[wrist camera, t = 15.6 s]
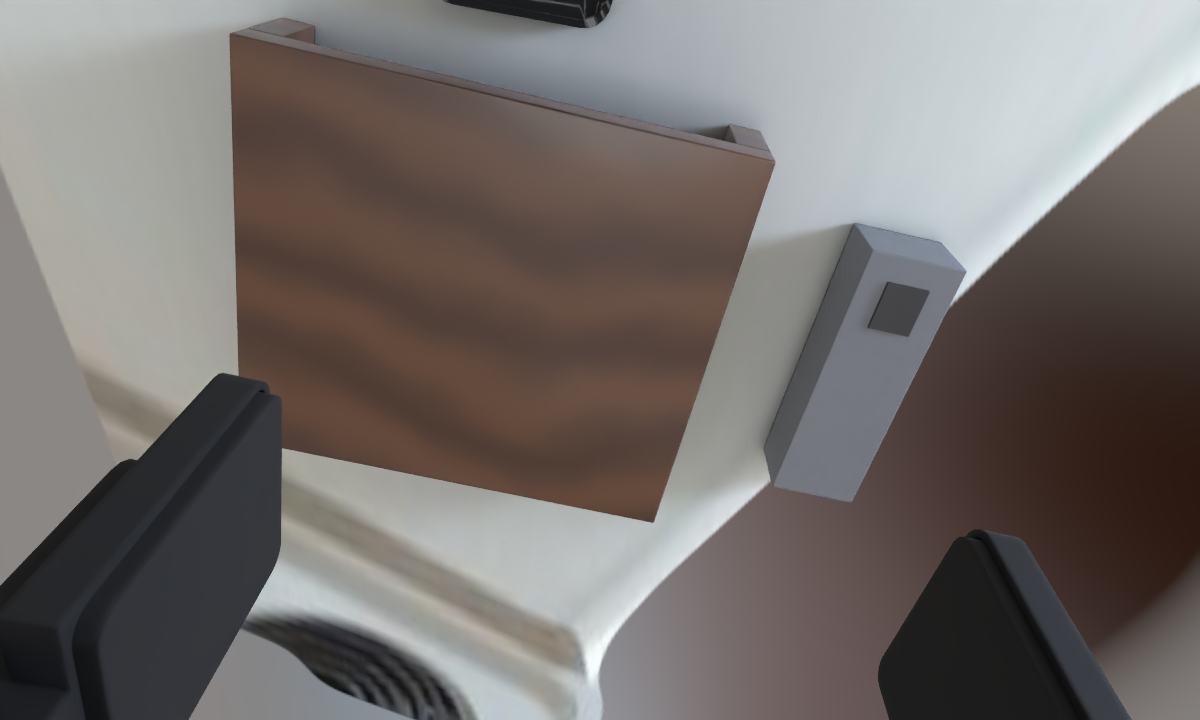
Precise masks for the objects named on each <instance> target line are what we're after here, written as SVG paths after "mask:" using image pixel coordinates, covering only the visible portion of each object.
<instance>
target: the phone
mask: <svg viewBox="0 0 1200 720" xmlns="http://www.w3.org/2000/svg"><path fill="white" fill-rule="evenodd" d="M443 1H445V2H448V3H450V4H454V5H460V6H465V7H471V8H476V9H481V10H487V11H492V12H497V13H503V14H508V15H514V16H519V17H524V18H530V19H535V20H541V21H546V22H551V23H557V24H562V25H567V26H573V27H578V28H590V27H593V26H596V25H598V24H599V23H600V22H601V21H603V20H604V19H605V17H606V16H607V14H608V13H609V10H610V7H611V4H612V1H613V0H443Z"/></svg>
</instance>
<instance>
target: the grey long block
mask: <svg viewBox="0 0 1200 720" xmlns="http://www.w3.org/2000/svg"><path fill="white" fill-rule="evenodd" d="M965 274H966V270H965V269H964V268H963V267H962V265H961V264H960V263H959V262H958V261H957V260H956V259H955V258H954V257H953V255H952V254H951V253H950V252H949V251H948V250H947V249H946V248H945V246H944V245H943V244H942V243H940V242H935V241H931V240H927V239H922V238H918V237H913V236H909V235H905V234H900V233H896V232H892V231H887V230H883V229H878V228H874V227H870V226H865V225H861V224H854V226H853V228H852V231H851V233H850V235H849V238H848V240H847V243H846V245H845V248H844V250H843V253H842V255H841V258H840V260H839V263H838V265H837V268H836V270H835V273H834V275H833V278H832V280H831V283H830V285H829V287H828V290H827V292H826V295H825V297H824V300H823V302H822V305H821V307H820V310H819V312H818V315H817V317H816V320H815V322H814V325H813V327H812V330H811V332H810V334H809V337H808V339H807V342H806V344H805V347H804V349H803V352H802V354H801V357H800V359H799V362H798V364H797V367H796V369H795V372H794V374H793V377H792V379H791V381H790V384H789V386H788V389H787V391H786V394H785V396H784V399H783V401H782V404H781V406H780V409H779V411H778V414H777V416H776V419H775V421H774V424H773V426H772V429H771V431H770V433H769V436H768V438H767V441H766V443H765V446H764V452H765V456H766V461H767V465H768V470H769V474H770V479H771V483H772V486H773V487H777V488H782V489H787V490H792V491H797V492H802V493H807V494H811V495H817V496H821V497H826V498H831V499H836V500H841V501H846V502H852V500H853V498H854V496H855V494H856V492H857V490H858V488H859V486H860V484H861V482H862V480H863V478H864V476H865V474H866V472H867V470H868V468H869V466H870V464H871V462H872V460H873V458H874V456H875V454H876V452H877V450H878V448H879V446H880V444H881V442H882V440H883V438H884V436H885V434H886V432H887V430H888V428H889V426H890V424H891V422H892V420H893V418H894V416H895V414H896V412H897V410H898V408H899V406H900V404H901V402H902V400H903V398H904V396H905V394H906V392H907V390H908V388H909V386H910V384H911V382H912V380H913V378H914V376H915V374H916V372H917V370H918V368H919V366H920V364H921V362H922V360H923V358H924V356H925V354H926V352H927V350H928V348H929V346H930V344H931V342H932V340H933V338H934V336H935V334H936V332H937V330H938V328H939V326H940V324H941V322H942V320H943V318H944V316H945V314H946V312H947V310H948V308H949V306H950V304H951V302H952V300H953V298H954V296H955V294H956V292H957V290H958V288H959V286H960V284H961V282H962V280H963V278H964V276H965Z"/></svg>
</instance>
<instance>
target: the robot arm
mask: <svg viewBox="0 0 1200 720" xmlns="http://www.w3.org/2000/svg"><path fill="white" fill-rule="evenodd" d="M281 466H282V401H281V398H280V397H279V396H277V395H273V394H270V389H269V386H268V384H267V383H266V382H264V381H260V380H255V379H250V378H245V377H240V376H236V375H231V374H226V373H221V374H218V375H217V376H216V377H214V378H213V379H212V380H211V381H210V383H209V384H208V385H207V386H206V387H205V388H204V389H203V390H202V391H201V392H200V393H199V394H198V395H197V397H196V398H195V399H194V400H193V401H192V402H191V403H190V404H189V405H188V406H187V407H186V408H185V410H184V411H183V412H182V413H181V414H180V415H179V416H178V417H177V418H176V419H175V420H174V421H173V423H172V424H171V425H170V426H169V427H168V428H167V429H166V430H165V431H164V432H163V433H162V434H161V436H160V437H159V438H158V439H157V440H156V441H155V442H154V443H153V444H152V445H151V446H150V447H149V448H148V450H147V451H146V452H145V453H144V454H143V455H142V456H141V457H140V458H139V459H138V460H133V459H128V460H125V461H123V462H120V463H119V464H118V465H117V466H115V467H114V468H113V469H112V470H111V471H110V472H109V473H108V474H107V475H106V476H105V477H104V478H103V479H102V480H101V481H100V482H99V483H98V484H97V485H96V486H95V487H94V488H93V489H92V490H91V492H90V493H89V494H88V495H87V496H86V497H85V498H84V499H83V500H82V501H81V502H80V503H79V504H78V505H77V506H76V507H75V508H74V509H73V510H72V511H71V512H70V513H69V514H68V516H67V517H66V518H65V519H64V520H63V521H62V522H61V523H60V524H59V525H58V526H57V527H56V528H55V529H54V530H53V531H52V532H51V534H50V535H49V536H48V537H47V538H46V539H45V540H44V541H43V542H42V543H41V544H40V545H39V546H38V547H37V548H36V549H35V550H34V551H33V552H32V553H31V554H30V555H29V556H28V557H27V559H26V560H25V561H24V562H23V563H22V564H21V565H20V566H19V567H18V568H17V569H16V570H15V571H14V572H13V573H12V574H11V575H10V576H9V577H8V578H7V579H6V581H4V583H3V584H2V585H1V586H0V720H189V718H190V716H191V714H192V712H193V711H194V709H195V707H196V705H197V704H198V702H199V700H200V698H201V696H202V695H203V693H204V691H205V689H206V688H207V686H208V684H209V682H210V680H211V679H212V677H213V675H214V673H215V672H216V670H217V668H218V667H219V665H220V663H221V661H222V659H223V658H224V656H225V654H226V652H227V651H228V649H229V647H230V645H231V643H232V642H233V640H234V638H235V636H236V635H237V633H238V631H239V629H240V628H241V626H242V624H243V622H244V621H245V619H246V617H247V615H248V613H249V612H250V610H251V608H252V606H253V605H254V603H255V601H256V599H257V598H258V596H259V594H260V592H261V590H262V589H263V587H264V585H265V583H266V582H267V580H268V578H269V576H270V574H271V573H272V571H273V569H274V567H275V564H276V562H277V559H278V555H279V552H280V546H281ZM878 682H879V686H880V690H881V693H882V697H883V700H884V703H885V707H886V710H887V713H888V717H889V720H1131V718H1130V716H1129V715H1128V713H1127V711H1126V710H1125V708H1124V706H1123V705H1122V703H1121V702H1120V700H1119V698H1118V696H1117V695H1116V693H1115V692H1114V690H1113V688H1112V686H1111V685H1110V683H1109V681H1108V680H1107V678H1106V677H1105V675H1104V673H1103V671H1102V670H1101V668H1100V667H1099V665H1098V663H1097V662H1096V660H1095V658H1094V657H1093V655H1092V653H1091V651H1090V650H1089V648H1088V647H1087V645H1086V643H1085V642H1084V640H1083V638H1082V637H1081V635H1080V633H1079V632H1078V630H1077V628H1076V627H1075V625H1074V623H1073V622H1072V620H1071V618H1070V617H1069V615H1068V613H1067V612H1066V610H1065V608H1064V607H1063V605H1062V603H1061V602H1060V600H1059V598H1058V597H1057V595H1056V594H1055V592H1054V590H1053V589H1052V587H1051V585H1050V583H1049V582H1048V580H1047V578H1046V577H1045V575H1044V573H1043V572H1042V570H1041V568H1040V567H1039V565H1038V563H1037V562H1036V560H1035V558H1034V557H1033V555H1032V553H1031V552H1030V550H1029V548H1028V547H1027V545H1026V544H1025V543H1024V542H1023V540H1021V539H1020V538H1017V537H1015V536H1010V535H1005V534H1000V533H995V532H991V531H986V530H981V529H977V530H973V531H971V532H969V533H968V535H967V536H966V537H959V538H957V539H956V540H955V541H954V542H953V544H952V545H951V547H950V548H949V550H948V552H947V554H946V555H945V557H944V558H943V560H942V561H941V563H940V565H939V567H938V568H937V570H936V571H935V573H934V575H933V576H932V578H931V579H930V581H929V583H928V584H927V586H926V587H925V589H924V591H923V592H922V594H921V596H920V597H919V599H918V601H917V602H916V604H915V605H914V607H913V609H912V610H911V612H910V613H909V615H908V617H907V618H906V620H905V622H904V623H903V625H902V626H901V628H900V630H899V631H898V633H897V635H896V636H895V638H894V639H893V641H892V643H891V644H890V646H889V648H888V649H887V651H886V652H885V654H884V656H883V657H882V659H881V662H880V666H879V671H878Z"/></svg>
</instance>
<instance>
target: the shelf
mask: <svg viewBox="0 0 1200 720" xmlns="http://www.w3.org/2000/svg"><path fill="white" fill-rule="evenodd" d="M314 33H315V27H314V25H310V24H306V23H302V22H298V21H294V20H289V19H285V18H280V19H276V20H273V21H270V22H266V23H263V24H259V25H256V26H252V27H249V28H247V29H243V30H240V31H236V32H233V33H230V67H231V104H232V142H233V179H234V217H235V254H236V291H237V329H238V366H239V376H240V377H245V378H250V379H255V380H260V381H264V382H266V383H267V384H268V386H269V389H270V394H273V395H277V396H279V397H280V398H281V401H282V448H284V449H289V450H294V451H299V452H304V453H309V454H314V455H319V456H324V457H329V458H334V459H339V460H344V461H349V462H354V463H359V464H364V465H369V466H374V467H379V468H384V469H389V470H394V471H399V472H404V473H409V474H414V475H419V476H423V477H428V478H433V479H438V480H443V481H448V482H453V483H458V484H463V485H468V486H473V487H478V488H483V489H488V490H493V491H498V492H503V493H508V494H513V495H518V496H523V497H528V498H533V499H538V500H543V501H548V502H553V503H558V504H563V505H568V506H572V507H577V508H582V509H587V510H592V511H597V512H602V513H607V514H612V515H617V516H622V517H627V518H632V519H637V520H642V521H647V522H652V523H653V522H654V520H655V517H656V514H657V511H658V508H659V505H660V502H661V499H662V497H663V494H664V491H665V488H666V485H667V482H668V479H669V476H670V473H671V470H672V467H673V464H674V461H675V458H676V455H677V452H678V449H679V446H680V443H681V440H682V437H683V434H684V432H685V429H686V426H687V423H688V420H689V417H690V414H691V411H692V408H693V405H694V402H695V399H696V396H697V393H698V390H699V387H700V384H701V381H702V378H703V375H704V372H705V370H706V367H707V364H708V361H709V358H710V355H711V352H712V349H713V346H714V343H715V340H716V337H717V334H718V331H719V328H720V325H721V322H722V319H723V316H724V313H725V310H726V307H727V305H728V302H729V299H730V296H731V293H732V290H733V287H734V284H735V281H736V278H737V275H738V272H739V269H740V266H741V263H742V260H743V257H744V254H745V251H746V248H747V245H748V243H749V240H750V237H751V234H752V231H753V228H754V225H755V222H756V219H757V216H758V213H759V210H760V207H761V204H762V201H763V198H764V195H765V192H766V189H767V186H768V183H769V180H770V178H771V175H772V172H773V169H774V166H775V160H774V158H773V156H772V154H771V152H770V150H769V148H768V146H767V144H766V142H765V140H764V138H763V136H762V135H761V133H760V131H757V130H753V129H748V128H744V127H740V126H736V125H732V124H730V125H729V126H728V130H727V133H726V136H725V140H724V141H722V140H718V139H714V138H710V137H705V136H701V135H697V134H693V133H689V132H684V131H680V130H676V129H672V128H667V127H663V126H659V125H655V124H650V123H646V122H642V121H638V120H633V119H629V118H625V117H621V116H616V115H612V114H608V113H604V112H600V111H595V110H591V109H587V108H583V107H578V106H574V105H570V104H566V103H561V102H557V101H553V100H549V99H544V98H540V97H536V96H532V95H527V94H523V93H519V92H515V91H510V90H506V89H502V88H498V87H494V86H489V85H485V84H481V83H477V82H472V81H468V80H464V79H460V78H455V77H451V76H447V75H443V74H438V73H434V72H430V71H426V70H421V69H417V68H413V67H409V66H405V65H400V64H396V63H392V62H388V61H383V60H379V59H375V58H371V57H366V56H362V55H358V54H354V53H349V52H345V51H341V50H337V49H332V48H328V47H324V46H320V45H315V44H314Z"/></svg>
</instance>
